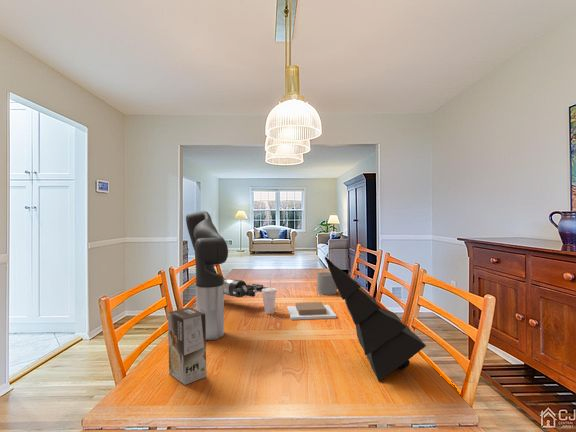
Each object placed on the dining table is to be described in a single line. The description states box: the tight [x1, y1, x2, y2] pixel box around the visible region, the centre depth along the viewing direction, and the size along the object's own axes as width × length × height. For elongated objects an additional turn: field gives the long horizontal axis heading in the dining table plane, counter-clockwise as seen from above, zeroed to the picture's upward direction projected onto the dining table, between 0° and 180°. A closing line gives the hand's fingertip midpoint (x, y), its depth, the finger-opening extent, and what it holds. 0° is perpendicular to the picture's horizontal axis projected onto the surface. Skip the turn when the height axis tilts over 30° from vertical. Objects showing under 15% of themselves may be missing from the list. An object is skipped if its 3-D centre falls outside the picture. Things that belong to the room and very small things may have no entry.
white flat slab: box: [286, 301, 337, 321], centre depth 138 cm, size 16×18×3 cm
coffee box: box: [167, 307, 207, 386], centre depth 85 cm, size 9×6×16 cm
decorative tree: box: [324, 256, 427, 382], centre depth 88 cm, size 15×15×35 cm
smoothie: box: [261, 278, 278, 315], centre depth 139 cm, size 6×6×14 cm
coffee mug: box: [316, 271, 338, 296], centre depth 173 cm, size 13×10×10 cm
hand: (261, 292), depth 141 cm, fingers open, 8 cm apart
